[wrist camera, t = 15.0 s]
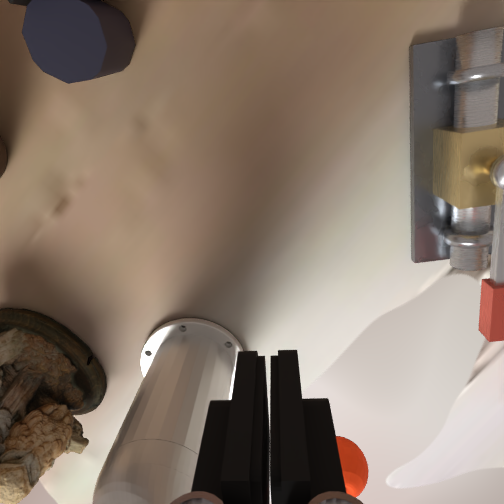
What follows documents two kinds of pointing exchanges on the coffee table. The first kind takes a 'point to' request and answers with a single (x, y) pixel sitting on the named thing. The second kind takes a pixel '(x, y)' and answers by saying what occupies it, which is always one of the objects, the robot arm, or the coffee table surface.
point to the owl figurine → (41, 397)
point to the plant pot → (2, 157)
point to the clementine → (352, 466)
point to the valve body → (455, 146)
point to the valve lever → (495, 266)
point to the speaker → (77, 38)
